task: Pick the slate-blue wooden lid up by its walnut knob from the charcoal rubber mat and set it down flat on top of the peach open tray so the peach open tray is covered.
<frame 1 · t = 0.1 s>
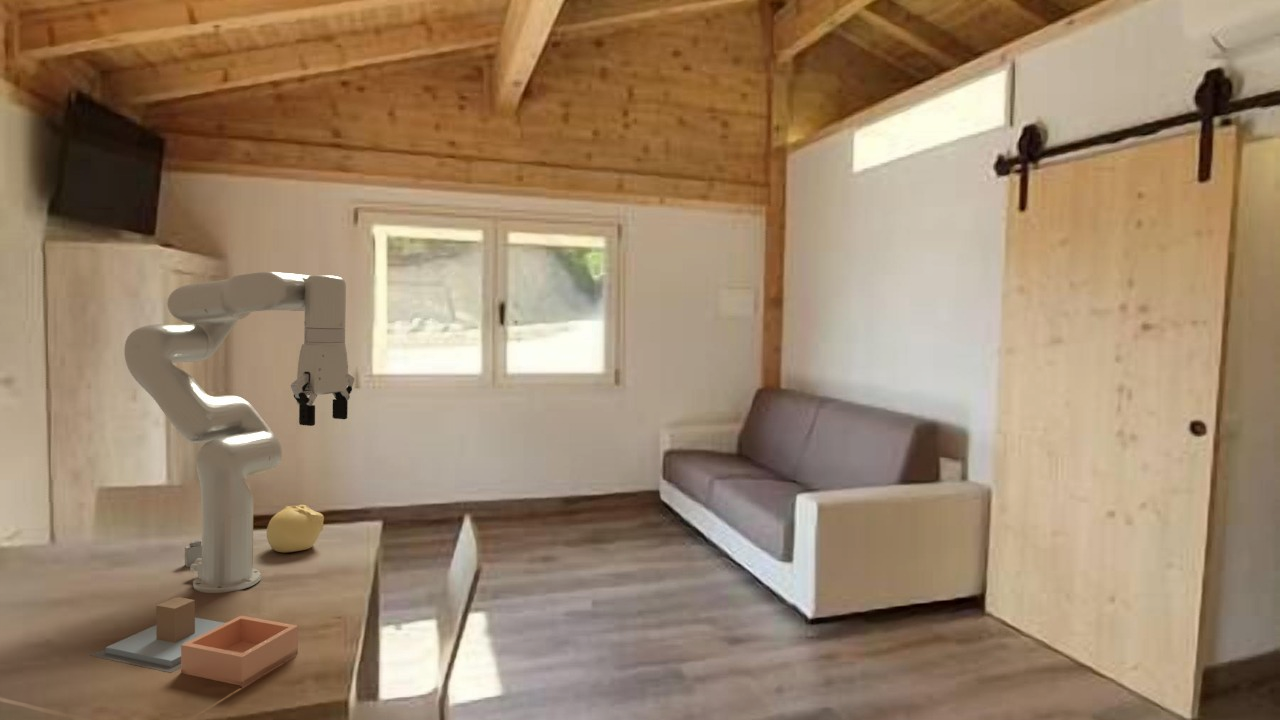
hand: (324, 421, 144), 37 cm above the table, tool pointing down, fingers open, 9 cm apart
lid: (175, 641, 125), resting on mat
mat: (175, 643, 125), on the table
sculpture: (294, 549, 176), on the table
peach open tray: (241, 664, 119), on the table
lighter: (203, 563, 165), on the table
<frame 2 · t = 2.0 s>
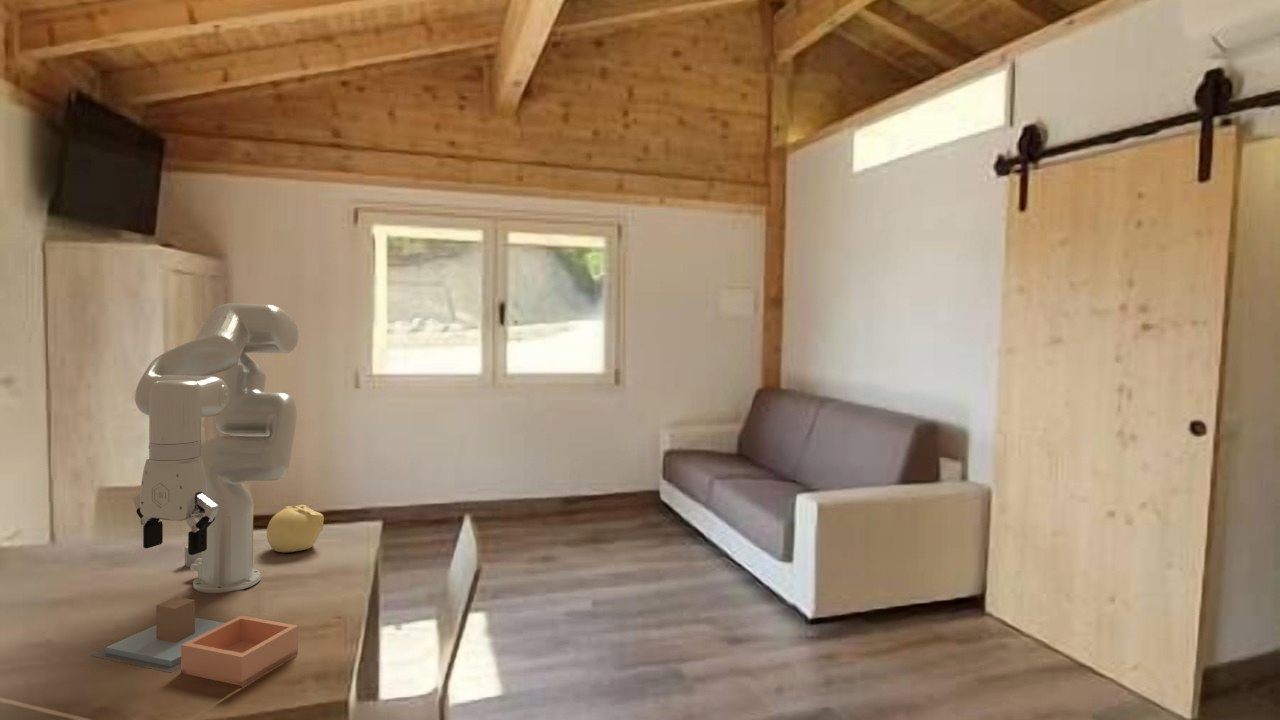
hand: (175, 549, 124), 17 cm above the table, tool pointing down, fingers open, 9 cm apart
nothing on the table moved.
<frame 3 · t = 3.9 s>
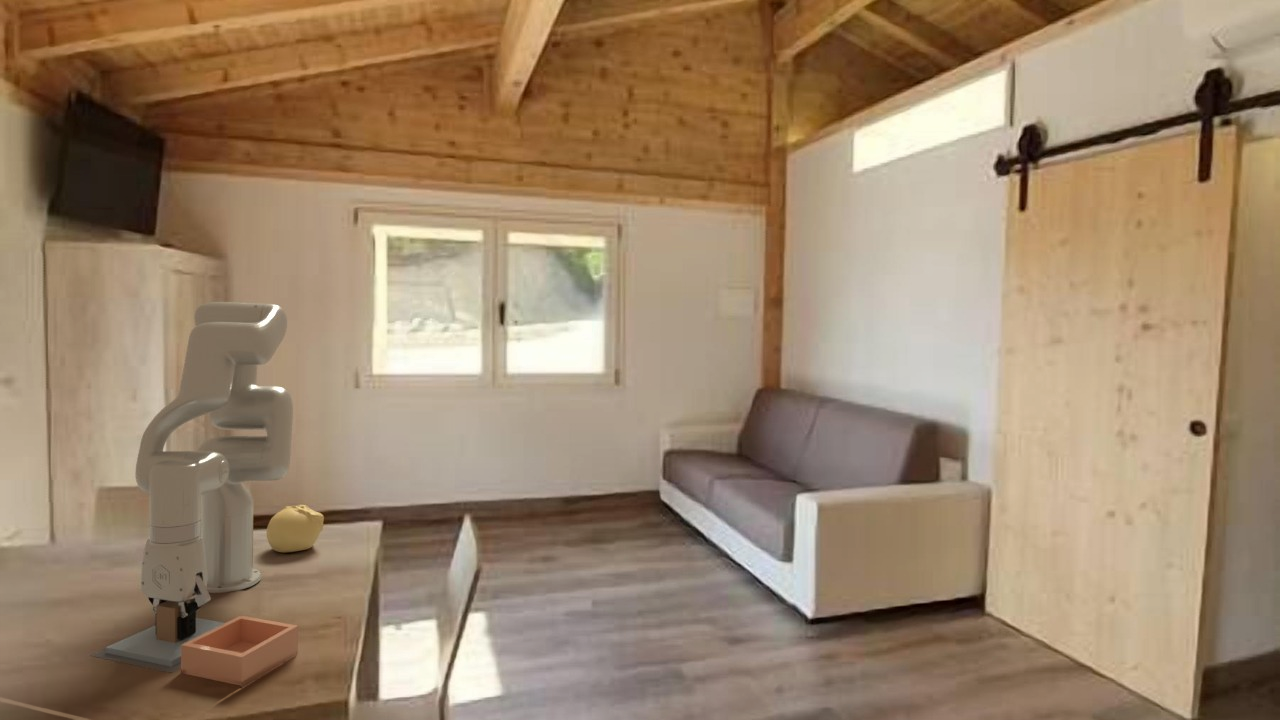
hand: (175, 633, 125), 2 cm above the table, tool pointing down, fingers closed on lid, 4 cm apart
lid: (175, 641, 125), resting on mat, touching gripper
everything else where it was.
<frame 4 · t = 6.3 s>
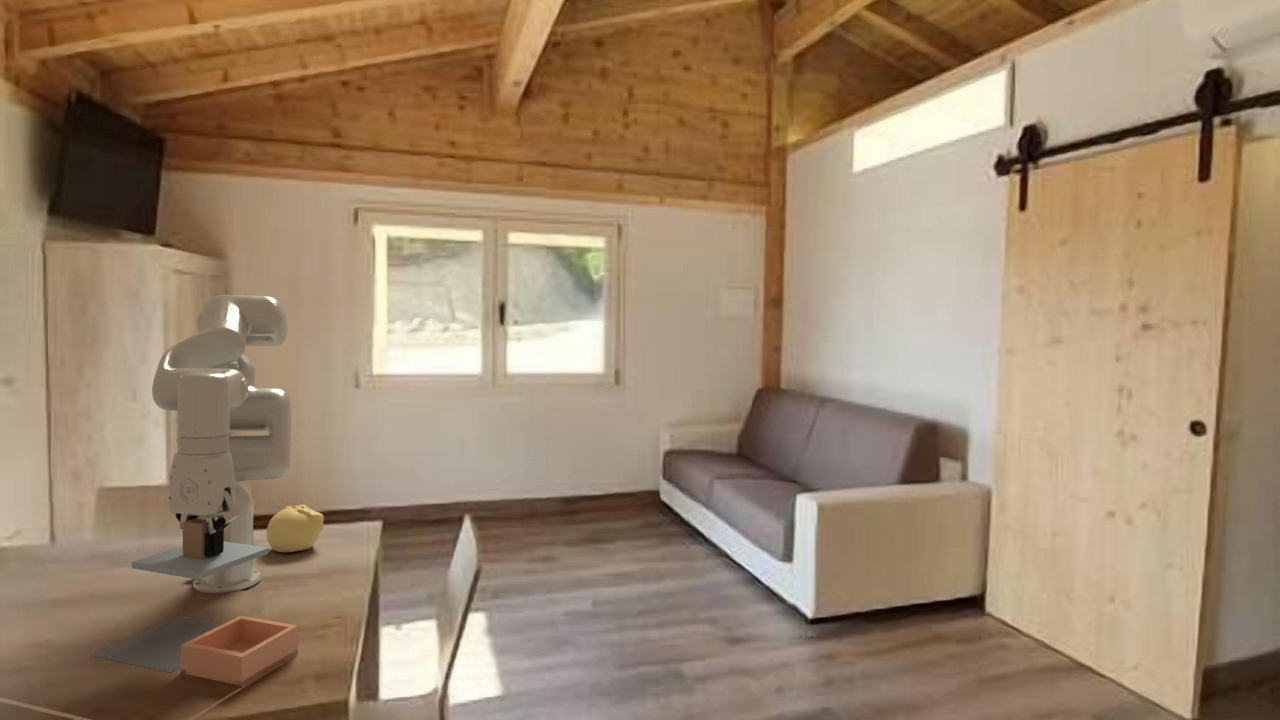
hand: (203, 551, 121), 18 cm above the table, tool pointing down, fingers closed on lid, 4 cm apart
lid: (202, 560, 121), point 16 cm above the table, touching gripper
everything else where it was.
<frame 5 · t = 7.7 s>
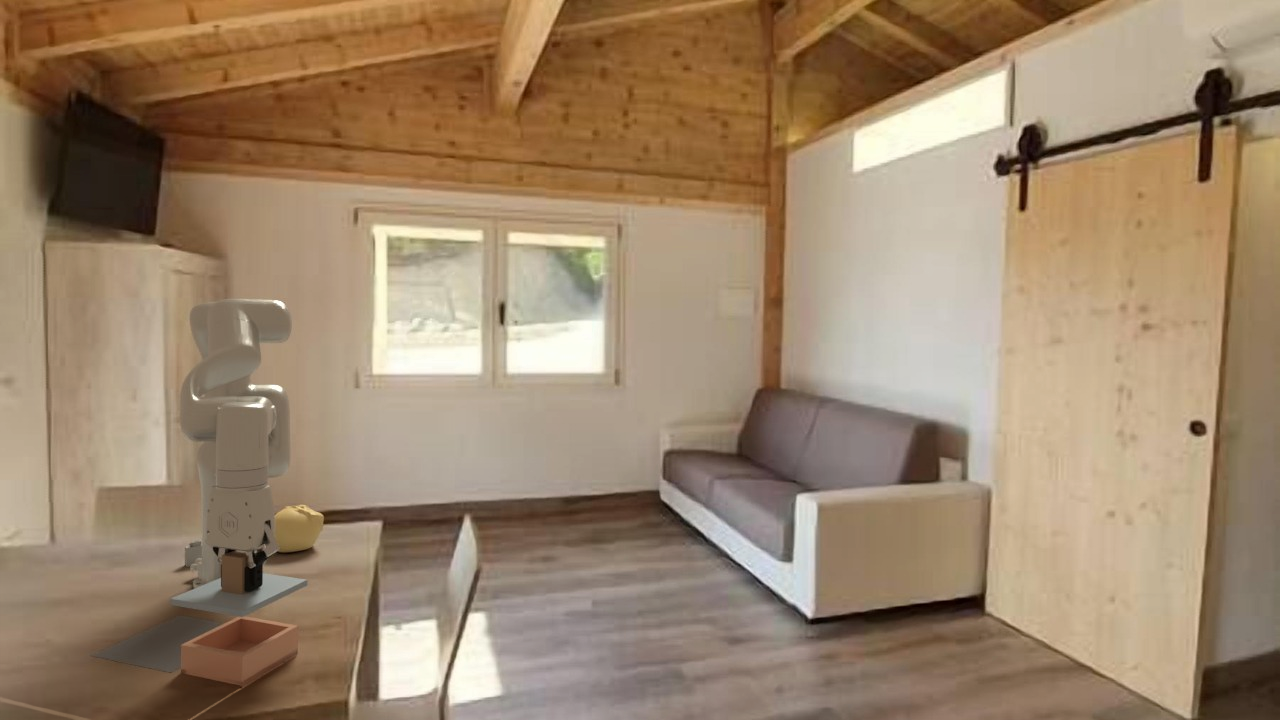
hand: (241, 585, 118), 13 cm above the table, tool pointing down, fingers closed on lid, 4 cm apart
lid: (241, 594, 118), point 12 cm above the table, touching gripper
everything else where it was.
when the fingers open (8 cm above the table, at t = 8.9 s): lid drops 2 cm, resting on peach open tray.
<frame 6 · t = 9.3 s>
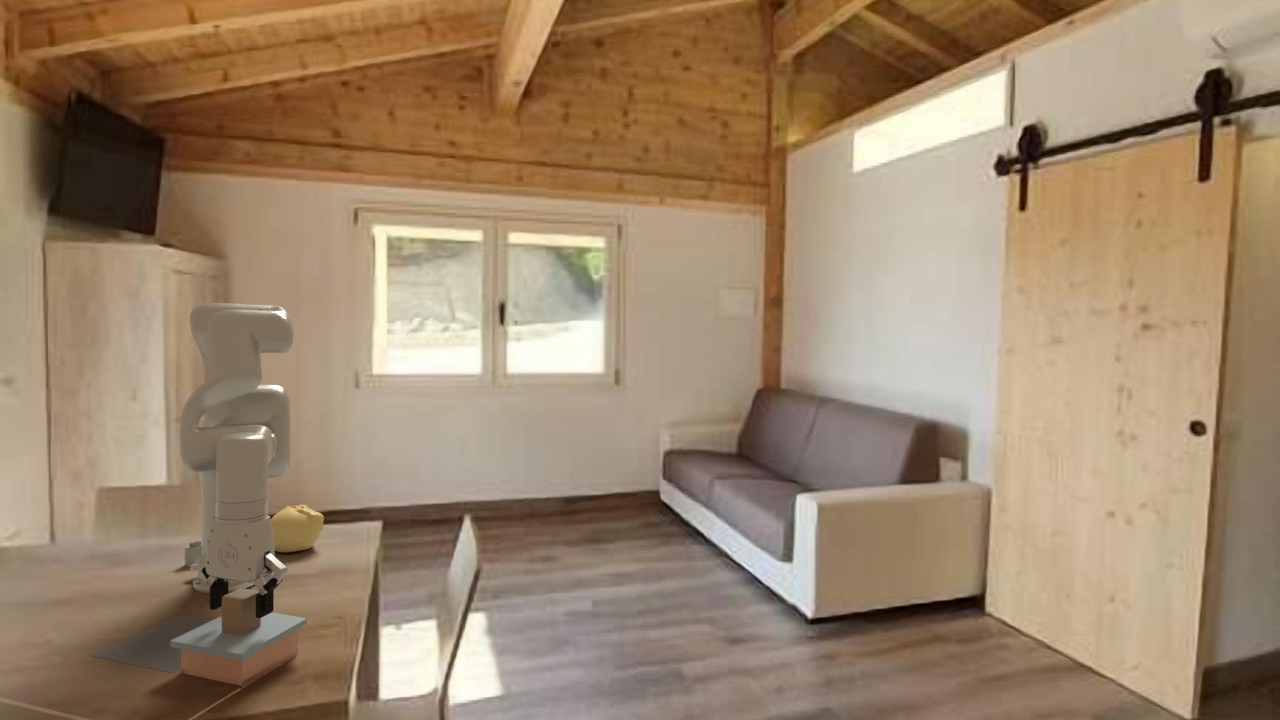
hand: (241, 610, 119), 9 cm above the table, tool pointing down, fingers open, 8 cm apart
lid: (241, 634, 119), point 5 cm above the table, touching peach open tray
everything else where it was.
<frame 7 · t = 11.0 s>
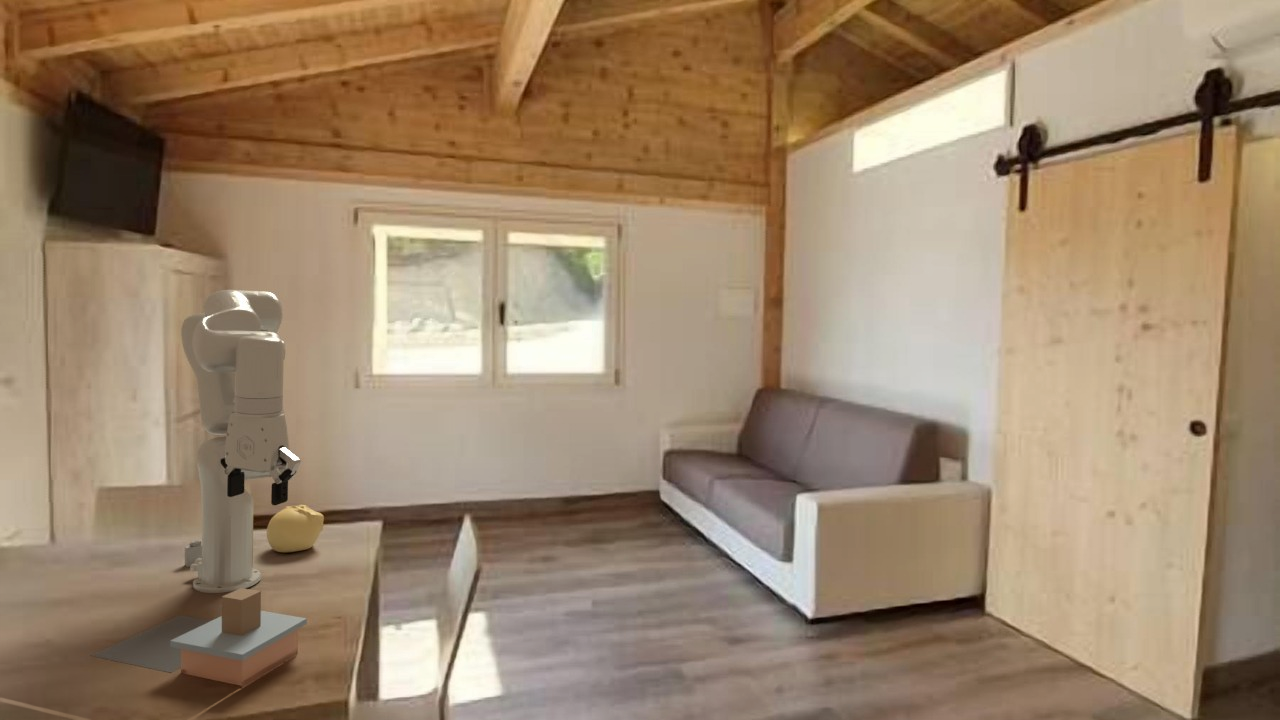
hand: (257, 499, 128), 25 cm above the table, tool pointing down, fingers open, 9 cm apart
nothing on the table moved.
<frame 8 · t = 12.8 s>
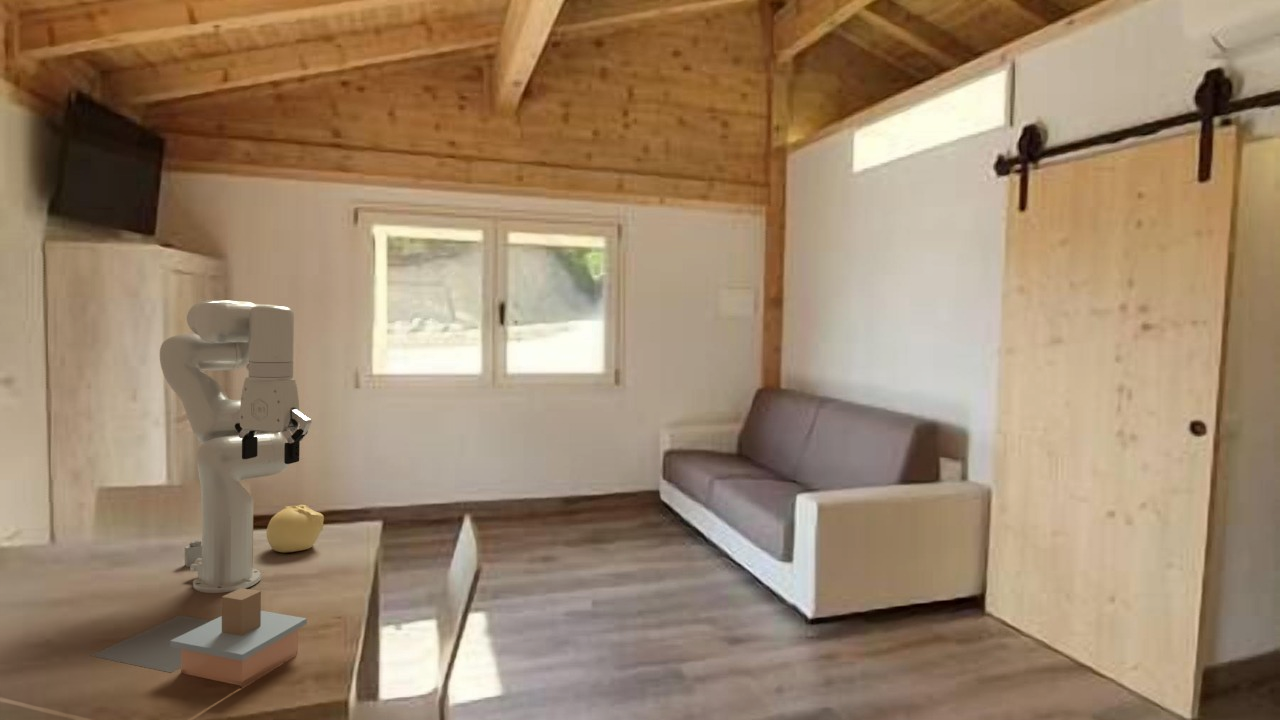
hand: (270, 460, 136), 30 cm above the table, tool pointing down, fingers open, 9 cm apart
nothing on the table moved.
at the end: lid 0.0 cm off-centre on the peach open tray, point 5.0 cm above the peach open tray's base; lid tilted 0°; the gripper is holding nothing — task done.
